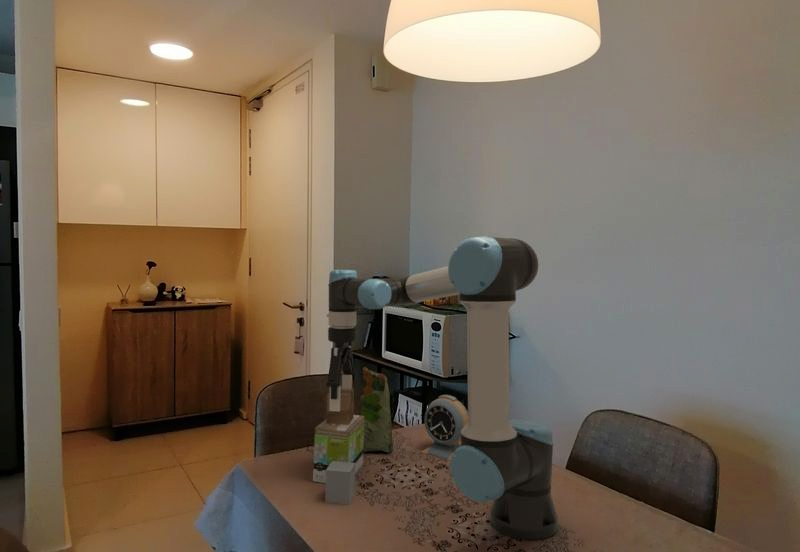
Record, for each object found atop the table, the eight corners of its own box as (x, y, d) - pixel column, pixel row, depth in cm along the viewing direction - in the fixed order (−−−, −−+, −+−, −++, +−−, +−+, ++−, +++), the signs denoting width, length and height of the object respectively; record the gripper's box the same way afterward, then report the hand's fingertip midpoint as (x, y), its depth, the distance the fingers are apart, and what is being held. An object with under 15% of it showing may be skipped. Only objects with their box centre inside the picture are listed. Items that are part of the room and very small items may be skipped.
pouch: (387, 458, 167) (389, 374, 166) (349, 453, 170) (351, 371, 169) (397, 446, 178) (399, 367, 177) (361, 441, 181) (363, 364, 180)
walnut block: (348, 424, 151) (349, 395, 151) (326, 423, 152) (327, 393, 151) (353, 418, 157) (353, 389, 157) (332, 416, 158) (332, 388, 157)
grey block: (349, 504, 136) (350, 472, 136) (325, 502, 137) (325, 470, 137) (354, 494, 142) (355, 462, 142) (331, 492, 143) (332, 461, 143)
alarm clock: (417, 451, 173) (419, 394, 173) (435, 443, 181) (436, 388, 180) (457, 463, 165) (459, 403, 164) (474, 453, 173) (476, 396, 172)
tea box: (348, 486, 147) (349, 430, 146) (312, 482, 149) (313, 427, 148) (363, 465, 161) (365, 414, 161) (330, 462, 163) (331, 411, 163)
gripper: (339, 320, 166) (338, 392, 167) (315, 332, 141) (314, 416, 142) (364, 321, 165) (363, 393, 166) (344, 333, 140) (343, 417, 141)
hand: (341, 404), depth 154 cm, fingers open, 13 cm apart
